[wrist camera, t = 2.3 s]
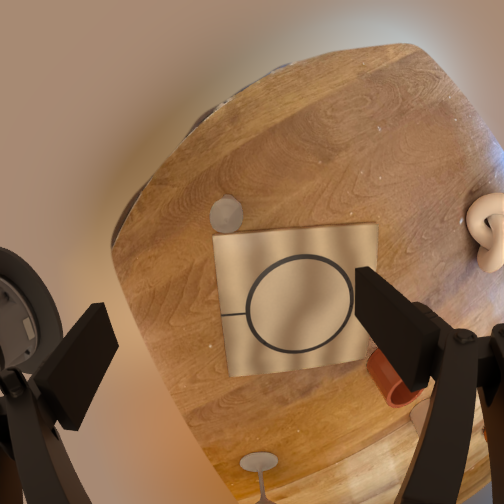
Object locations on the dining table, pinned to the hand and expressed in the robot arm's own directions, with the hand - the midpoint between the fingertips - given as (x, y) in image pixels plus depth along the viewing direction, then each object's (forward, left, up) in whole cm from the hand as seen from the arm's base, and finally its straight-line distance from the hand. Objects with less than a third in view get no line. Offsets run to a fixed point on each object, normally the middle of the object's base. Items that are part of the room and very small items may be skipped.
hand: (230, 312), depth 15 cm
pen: (0, +3, -21) cm, 22 cm away
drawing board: (+8, -11, -21) cm, 25 cm away
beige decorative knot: (+38, -3, -21) cm, 44 cm away
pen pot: (+22, -23, -21) cm, 38 cm away
